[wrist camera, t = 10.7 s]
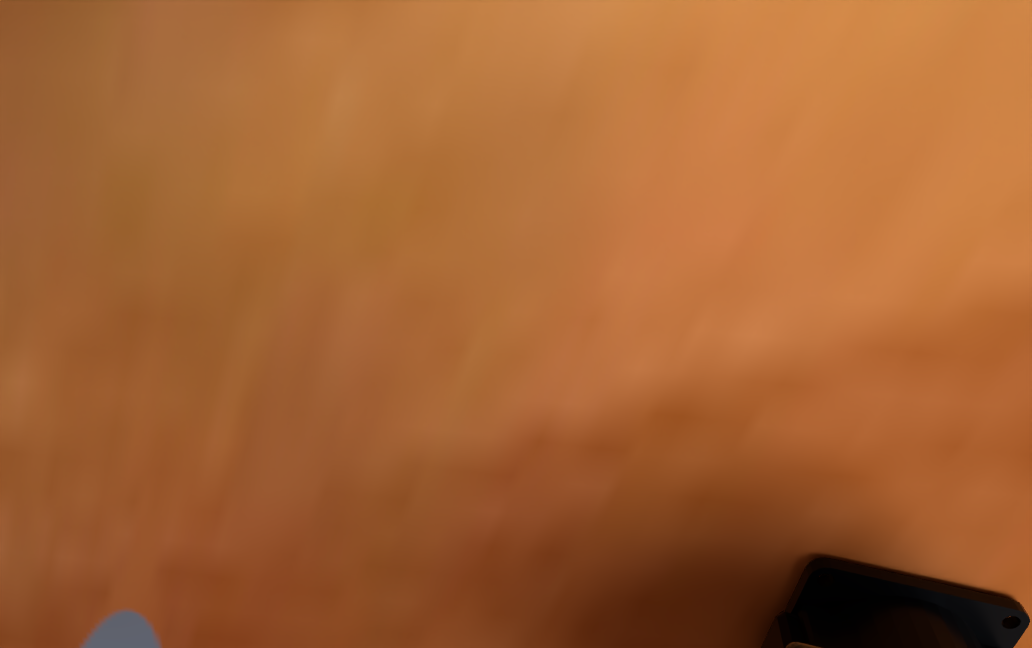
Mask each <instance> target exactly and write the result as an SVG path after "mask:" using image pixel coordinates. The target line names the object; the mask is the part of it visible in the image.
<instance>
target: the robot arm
mask: <svg viewBox="0 0 1032 648" xmlns="http://www.w3.org/2000/svg"><path fill="white" fill-rule="evenodd" d="M822 574H829V575H828V576H825V577H819V576H820V575H822ZM1009 616H1011V617H1009ZM1006 617H1009V618H1006ZM1029 623H1030V619H1029V616H1028V614H1027V612H1026V611H1025V609H1024V607H1023V606H1022V605H1021V604H1020V603H1019V602H1017V601H1014V600H1011V599H1007V598H1002V597H998V596H993V595H989V594H984V593H980V592H976V591H971V590H967V589H962V588H958V587H954V586H949V585H945V584H940V583H936V582H931V581H927V580H923V579H918V578H914V577H909V576H905V575H901V574H896V573H892V572H887V571H883V570H878V569H874V568H870V567H865V566H861V565H856V564H852V563H848V562H843V561H839V560H834V559H830V558H818V559H815V560H813V561H811V562H810V563H809V564H808V565H807V566H806V568H805V570H804V572H803V574H802V576H801V578H800V580H799V582H798V584H797V586H796V589H795V591H794V593H793V595H792V597H791V599H790V601H789V603H788V605H787V607H786V609H785V611H784V612H781V613H780V614H779V615H778V616H776V617H775V619H774V621H773V624H772V626H771V628H770V630H769V632H768V634H767V636H766V638H765V640H764V642H763V644H762V646H761V648H1013V647H1014V646H1015V645H1016V643H1017V642H1018V640H1019V639H1020V637H1021V636H1022V635H1023V633H1024V632H1025V630H1026V629H1027V627H1028V625H1029Z"/></svg>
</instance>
